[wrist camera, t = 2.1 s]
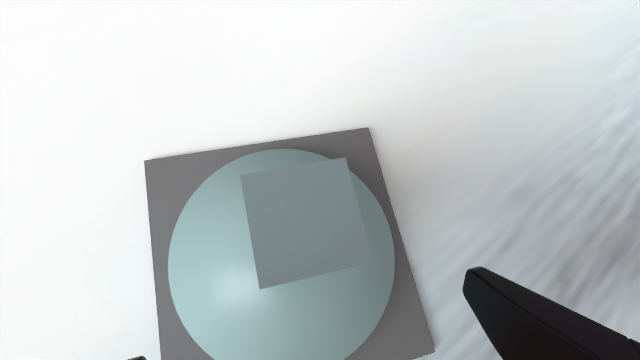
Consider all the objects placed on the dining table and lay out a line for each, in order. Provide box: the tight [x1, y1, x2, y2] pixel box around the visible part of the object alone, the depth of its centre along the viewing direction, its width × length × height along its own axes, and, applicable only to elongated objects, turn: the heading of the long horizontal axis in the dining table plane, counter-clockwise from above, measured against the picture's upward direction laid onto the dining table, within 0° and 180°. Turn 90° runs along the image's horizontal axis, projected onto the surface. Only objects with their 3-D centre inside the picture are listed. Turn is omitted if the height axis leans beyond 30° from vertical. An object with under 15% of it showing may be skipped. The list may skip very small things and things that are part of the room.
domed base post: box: [168, 149, 395, 360], centre depth 14 cm, size 12×12×10 cm
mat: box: [144, 128, 435, 360], centre depth 19 cm, size 14×14×1 cm
